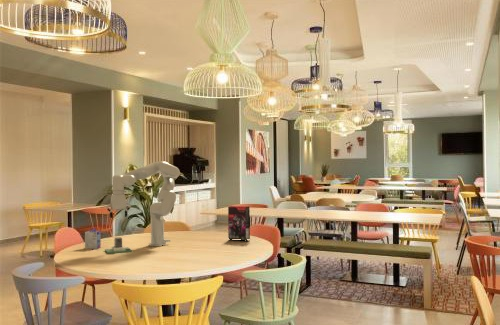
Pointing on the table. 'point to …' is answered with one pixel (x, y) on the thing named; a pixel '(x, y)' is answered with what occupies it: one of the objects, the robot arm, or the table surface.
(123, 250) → the circuit board
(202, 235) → the table surface
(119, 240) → the plug
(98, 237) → the ink cartridge box
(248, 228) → the graphics card box
